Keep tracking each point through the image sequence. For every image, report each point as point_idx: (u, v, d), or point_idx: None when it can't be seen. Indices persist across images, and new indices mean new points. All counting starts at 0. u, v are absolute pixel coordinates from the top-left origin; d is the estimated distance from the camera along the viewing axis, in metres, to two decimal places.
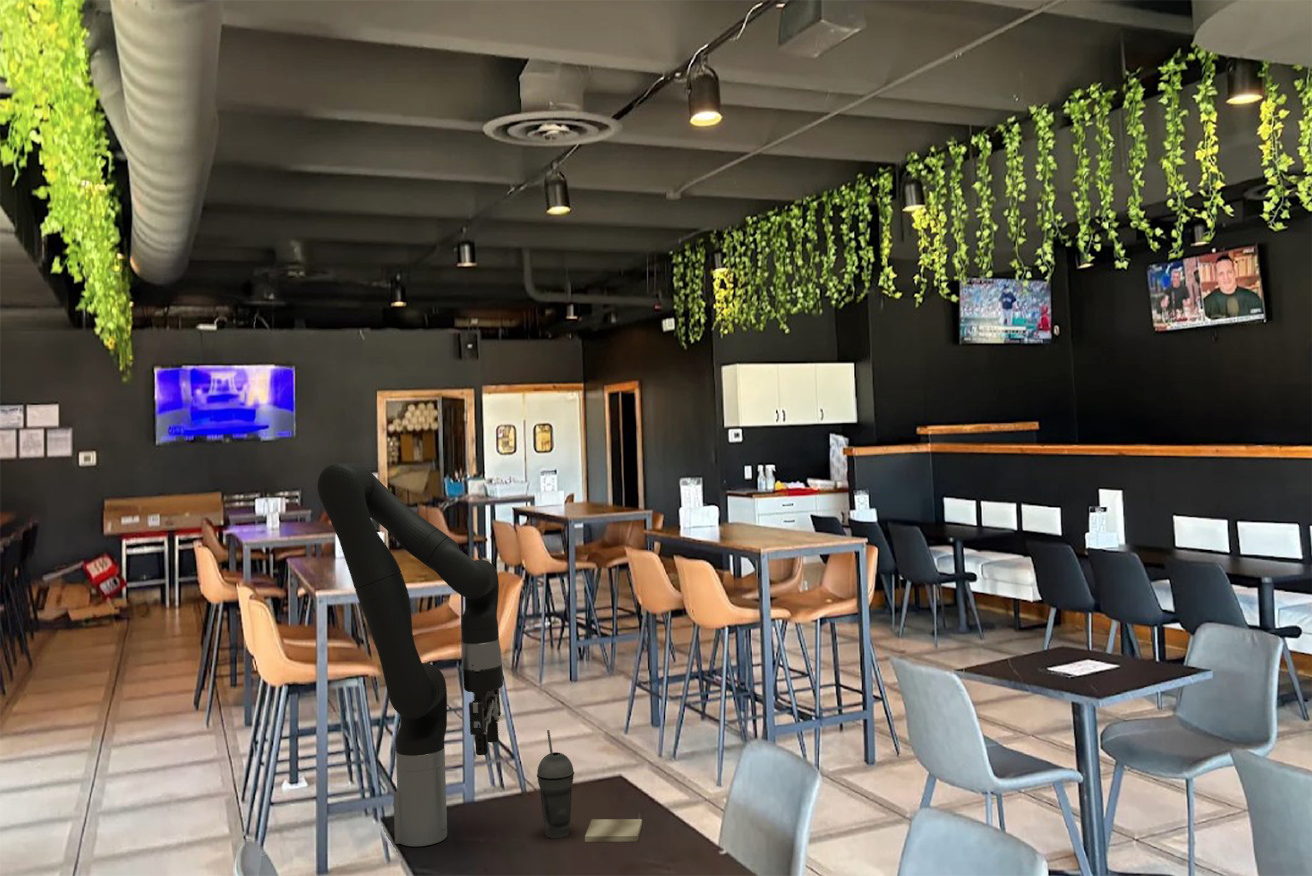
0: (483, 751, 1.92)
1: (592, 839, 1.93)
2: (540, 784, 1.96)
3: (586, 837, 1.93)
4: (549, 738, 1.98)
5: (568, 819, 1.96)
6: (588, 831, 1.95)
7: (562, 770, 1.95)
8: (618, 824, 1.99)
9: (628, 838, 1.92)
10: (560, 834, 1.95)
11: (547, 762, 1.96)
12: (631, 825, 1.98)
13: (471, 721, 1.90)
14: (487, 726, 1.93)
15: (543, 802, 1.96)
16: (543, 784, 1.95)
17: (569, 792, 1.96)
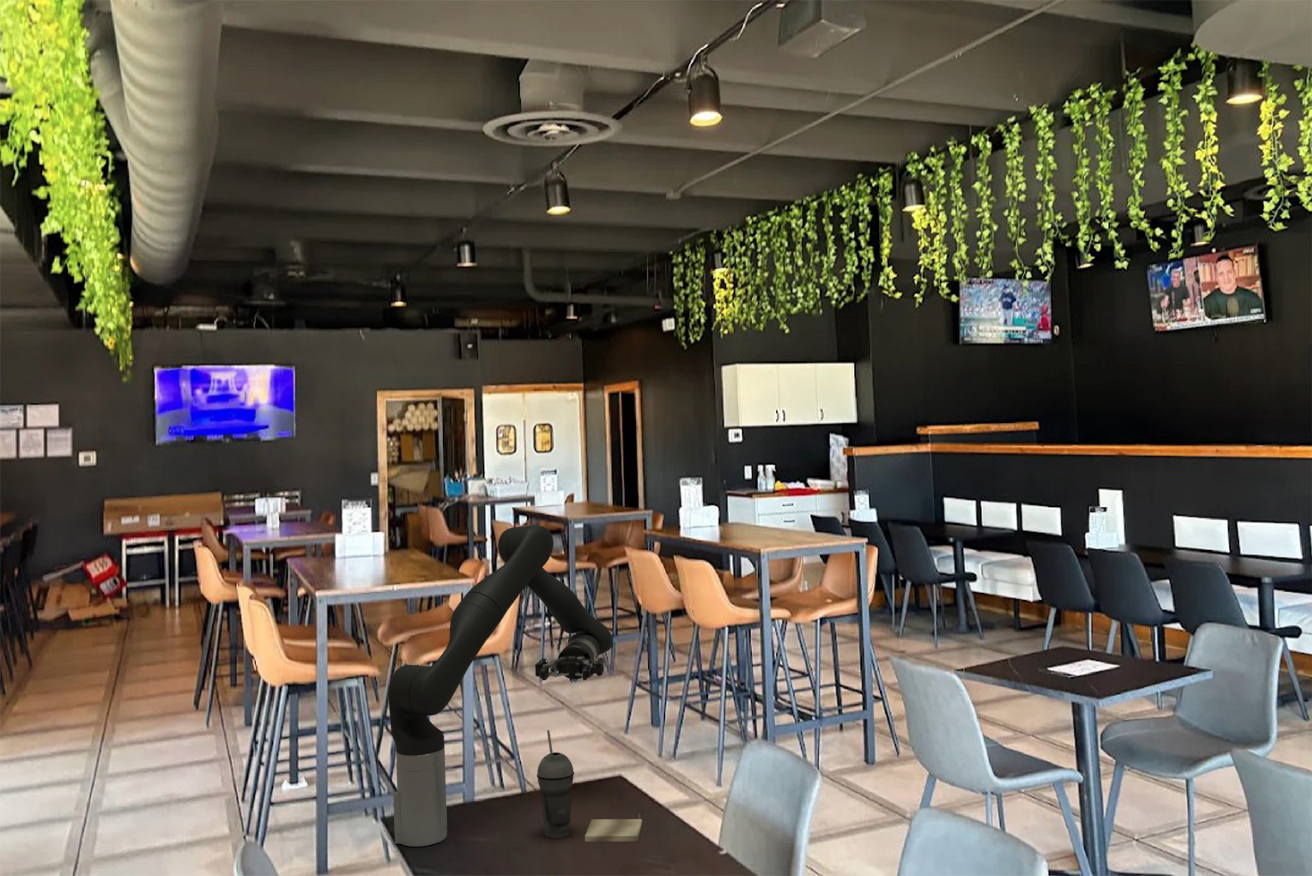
0: (589, 676, 2.10)
1: (592, 839, 1.93)
2: (540, 784, 1.96)
3: (586, 837, 1.93)
4: (549, 738, 1.98)
5: (568, 819, 1.96)
6: (588, 831, 1.95)
7: (562, 770, 1.95)
8: (618, 824, 1.99)
9: (628, 838, 1.92)
10: (560, 834, 1.95)
11: (547, 762, 1.96)
12: (631, 825, 1.98)
13: (602, 663, 2.16)
14: None
15: (543, 802, 1.96)
16: (543, 784, 1.95)
17: (569, 792, 1.96)
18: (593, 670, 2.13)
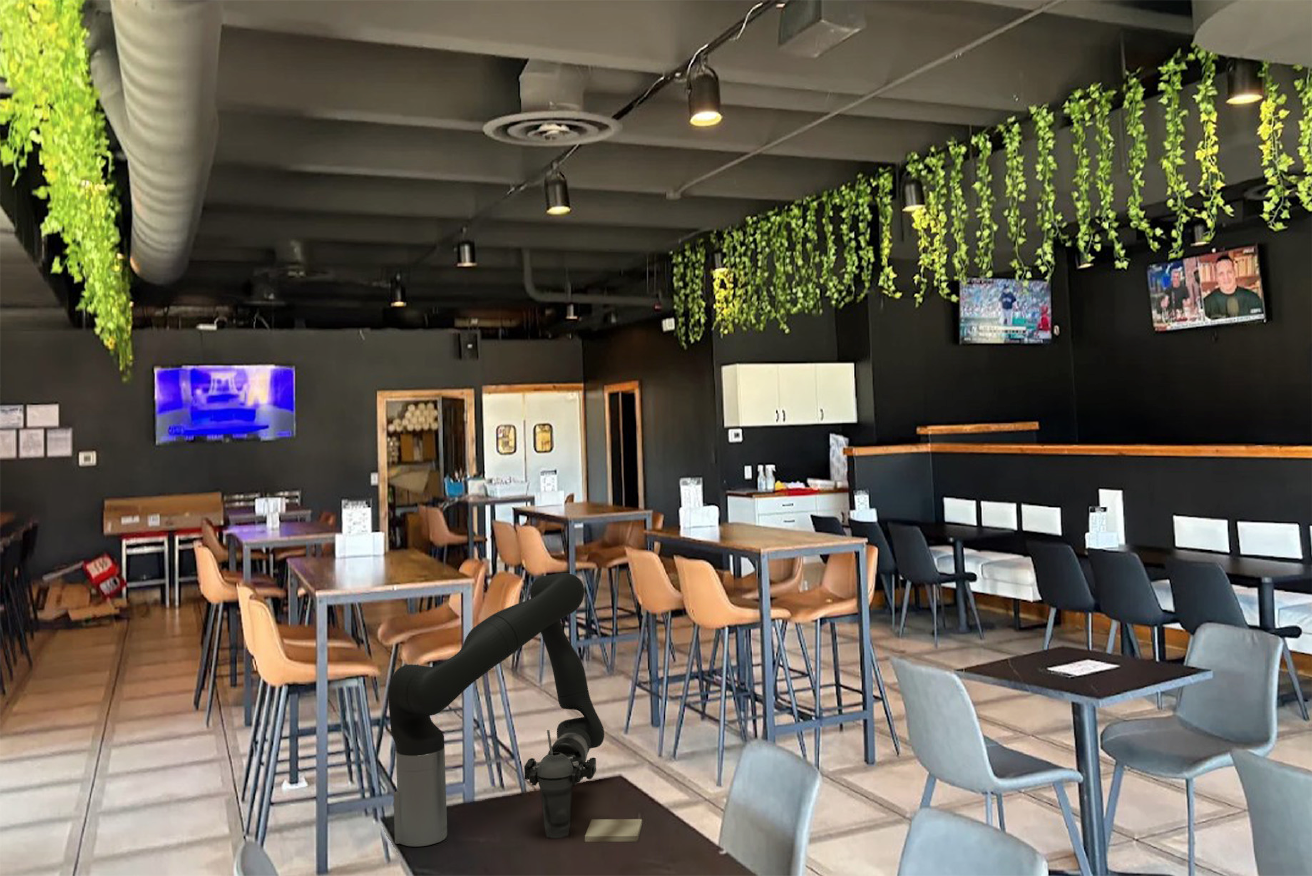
0: (578, 781, 1.96)
1: (592, 839, 1.93)
2: (540, 784, 1.96)
3: (586, 837, 1.93)
4: (549, 738, 1.98)
5: (568, 819, 1.96)
6: (588, 831, 1.95)
7: (562, 770, 1.95)
8: (618, 824, 1.99)
9: (628, 838, 1.92)
10: (560, 834, 1.95)
11: (547, 762, 1.96)
12: (631, 825, 1.98)
13: (593, 764, 2.02)
14: None
15: (543, 802, 1.96)
16: (543, 784, 1.95)
17: (569, 792, 1.96)
18: (583, 773, 1.99)
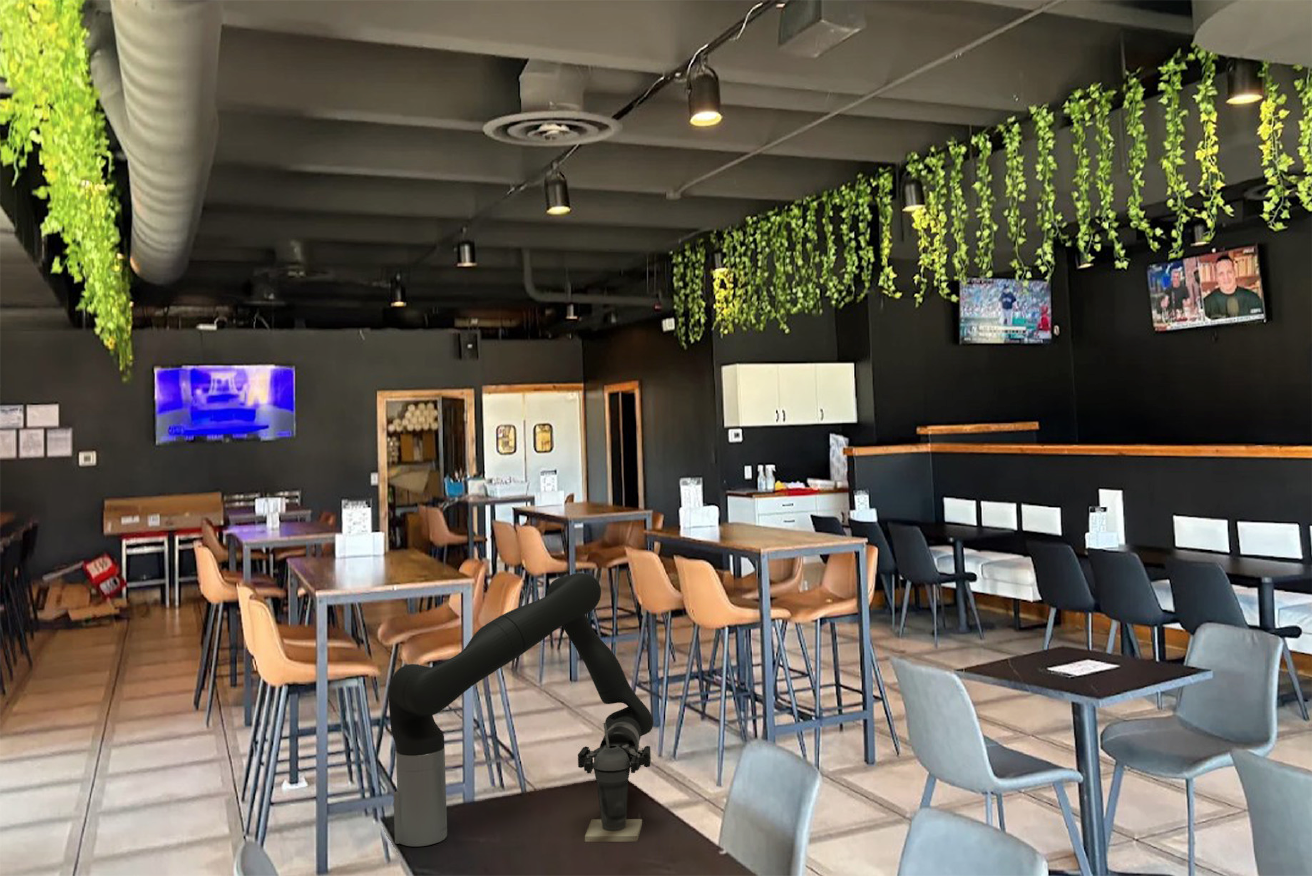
0: (637, 769, 1.96)
1: (592, 839, 1.93)
2: (597, 777, 1.96)
3: (586, 837, 1.93)
4: (606, 731, 1.98)
5: (625, 812, 1.96)
6: (588, 831, 1.95)
7: (619, 762, 1.95)
8: None
9: (628, 838, 1.92)
10: (617, 827, 1.95)
11: (604, 754, 1.96)
12: (631, 825, 1.98)
13: (650, 752, 2.02)
14: None
15: (600, 795, 1.96)
16: (600, 777, 1.95)
17: (626, 785, 1.96)
18: (641, 761, 1.99)
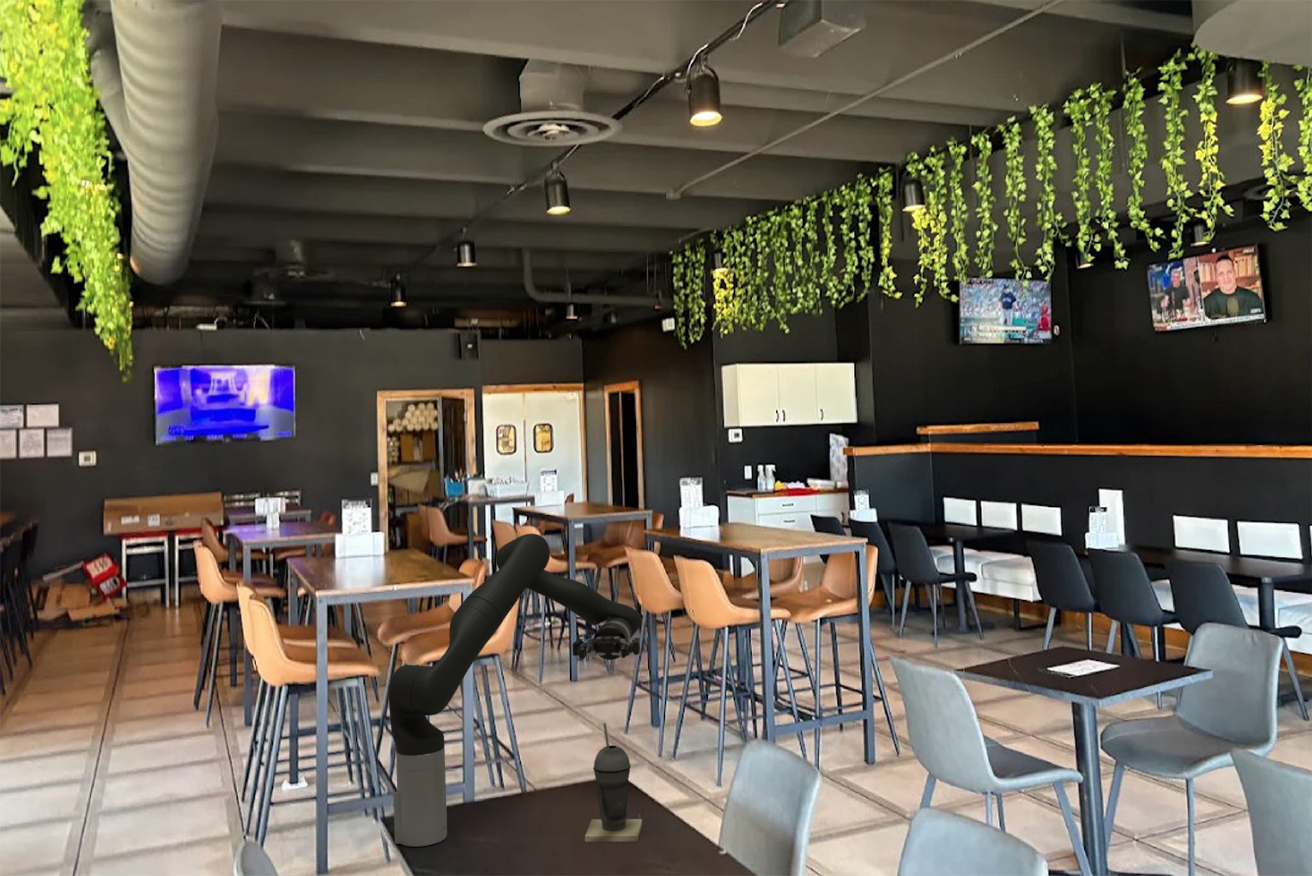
0: (627, 654, 2.12)
1: (592, 839, 1.93)
2: (597, 777, 1.96)
3: (586, 837, 1.93)
4: (605, 731, 1.98)
5: (625, 812, 1.96)
6: (588, 831, 1.95)
7: (619, 763, 1.95)
8: None
9: (628, 838, 1.92)
10: (617, 827, 1.95)
11: (604, 755, 1.96)
12: (631, 825, 1.98)
13: (639, 642, 2.18)
14: None
15: (600, 795, 1.96)
16: (600, 777, 1.95)
17: (626, 785, 1.96)
18: (630, 649, 2.15)
